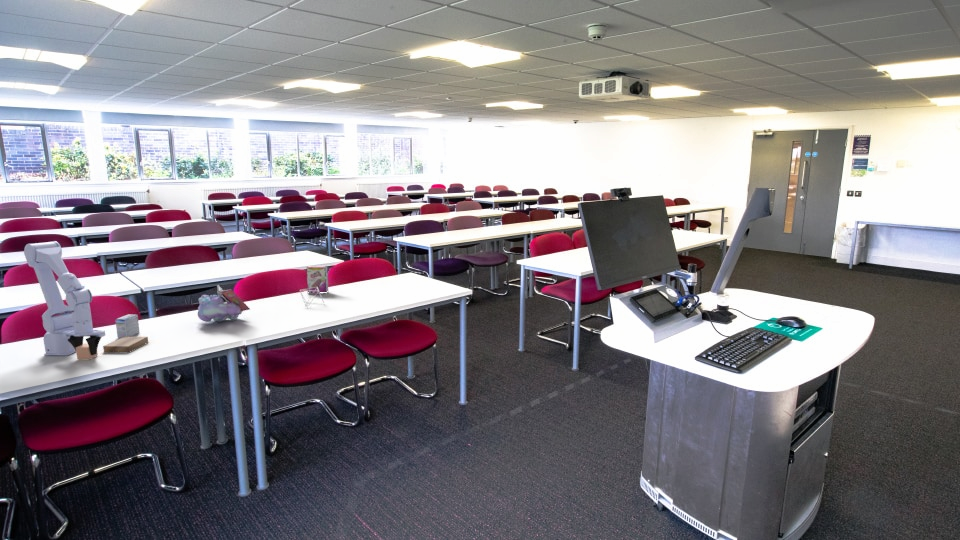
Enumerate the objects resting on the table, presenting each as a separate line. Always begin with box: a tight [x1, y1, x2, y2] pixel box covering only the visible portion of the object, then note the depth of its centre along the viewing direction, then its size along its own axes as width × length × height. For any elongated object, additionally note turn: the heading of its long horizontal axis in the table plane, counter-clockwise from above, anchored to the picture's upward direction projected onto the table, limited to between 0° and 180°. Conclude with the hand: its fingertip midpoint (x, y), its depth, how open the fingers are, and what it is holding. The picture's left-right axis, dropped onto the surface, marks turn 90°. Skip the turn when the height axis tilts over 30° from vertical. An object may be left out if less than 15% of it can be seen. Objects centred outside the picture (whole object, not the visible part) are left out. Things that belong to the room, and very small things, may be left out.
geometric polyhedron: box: [299, 287, 325, 308], centre depth 275 cm, size 12×11×9 cm
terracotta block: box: [75, 343, 99, 360], centre depth 196 cm, size 4×4×5 cm
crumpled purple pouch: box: [197, 284, 251, 323], centre depth 242 cm, size 20×22×18 cm
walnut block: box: [102, 336, 149, 353], centre depth 208 cm, size 10×12×3 cm
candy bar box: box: [306, 265, 329, 293], centre depth 301 cm, size 11×5×16 cm, turn 93°
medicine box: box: [114, 313, 140, 339], centre depth 222 cm, size 8×4×9 cm, turn 178°
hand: (87, 354), depth 196 cm, fingers closed on terracotta block, 4 cm apart
